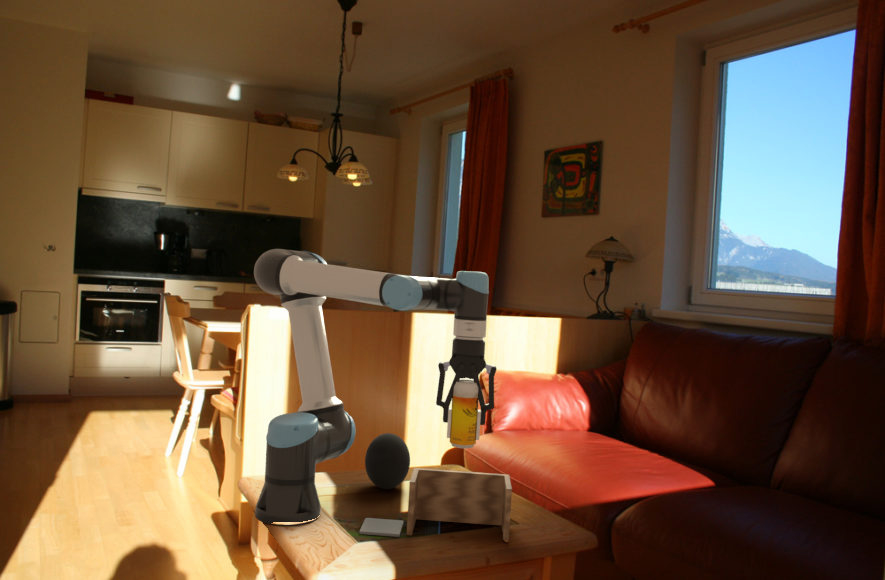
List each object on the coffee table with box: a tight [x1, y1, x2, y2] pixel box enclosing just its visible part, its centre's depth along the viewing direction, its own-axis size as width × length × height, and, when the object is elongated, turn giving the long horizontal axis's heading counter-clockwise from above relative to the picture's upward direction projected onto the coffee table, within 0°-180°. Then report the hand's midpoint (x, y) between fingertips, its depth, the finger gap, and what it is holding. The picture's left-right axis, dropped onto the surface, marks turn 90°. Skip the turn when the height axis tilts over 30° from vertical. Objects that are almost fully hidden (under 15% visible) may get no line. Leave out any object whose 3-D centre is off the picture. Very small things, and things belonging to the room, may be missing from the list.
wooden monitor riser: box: [406, 467, 513, 541], centre depth 161 cm, size 23×12×12 cm, turn 87°
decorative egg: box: [364, 432, 411, 490], centre depth 190 cm, size 12×12×15 cm
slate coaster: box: [358, 517, 404, 538], centre depth 159 cm, size 9×9×1 cm
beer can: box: [449, 379, 479, 449], centre depth 160 cm, size 6×6×15 cm
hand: (463, 437), depth 160 cm, fingers closed on beer can, 6 cm apart
